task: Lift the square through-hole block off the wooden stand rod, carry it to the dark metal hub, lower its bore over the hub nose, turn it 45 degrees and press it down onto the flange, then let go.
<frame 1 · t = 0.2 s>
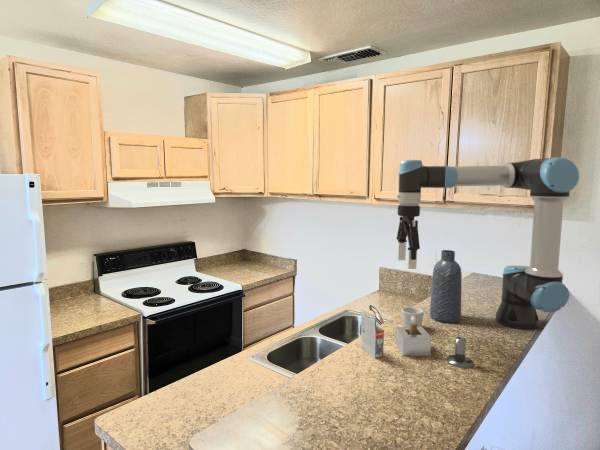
hand: (406, 264, 136), 27 cm above the countertop, fingers open, 13 cm apart
hub: (459, 365, 119), on the countertop
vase: (444, 318, 158), on the countertop
ink box: (371, 355, 125), on the countertop
stand: (412, 352, 127), on the countertop
cup: (411, 332, 144), on the countertop
square through-hole block: (412, 349, 127), point 1 cm above the countertop, touching stand
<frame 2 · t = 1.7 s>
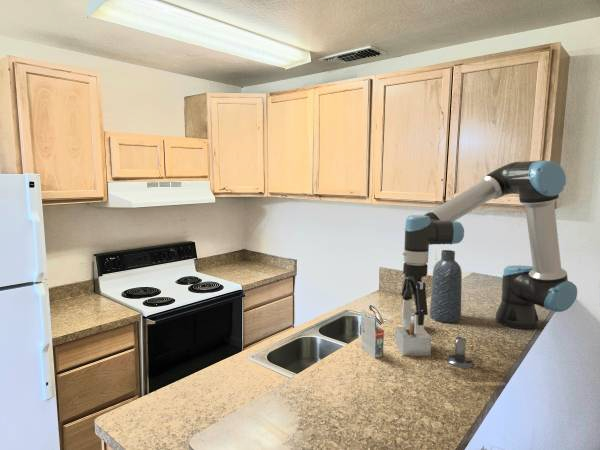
hand: (412, 325, 126), 9 cm above the countertop, fingers open, 13 cm apart
nothing on the countertop moved.
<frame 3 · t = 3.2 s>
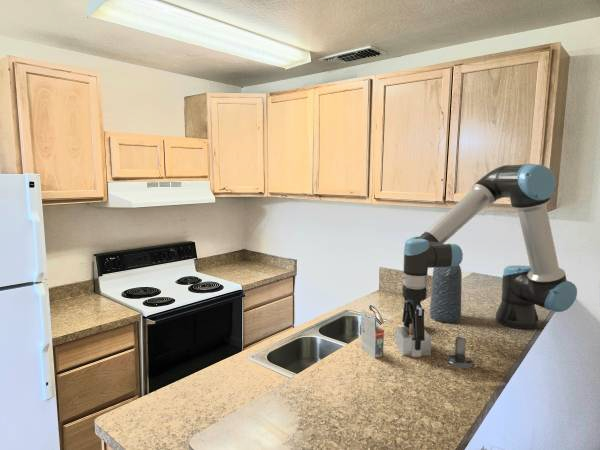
hand: (411, 351, 127), 0 cm above the countertop, fingers closed on square through-hole block, 9 cm apart
square through-hole block: (412, 349, 127), point 1 cm above the countertop, touching gripper, stand
everything else where it was.
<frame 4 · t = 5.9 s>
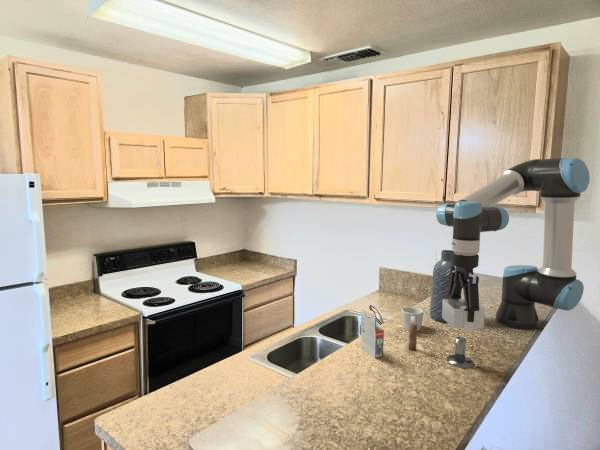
hand: (461, 324, 117), 13 cm above the countertop, fingers closed on square through-hole block, 9 cm apart
square through-hole block: (462, 322, 117), point 14 cm above the countertop, touching gripper
everything else where it was.
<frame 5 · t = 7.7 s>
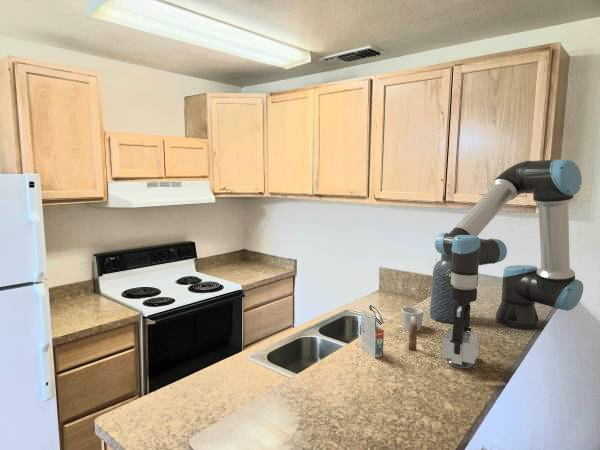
hand: (459, 356, 118), 3 cm above the countertop, fingers closed on square through-hole block, 9 cm apart
square through-hole block: (460, 354, 118), point 3 cm above the countertop, touching gripper
everything else where it was.
when the fingers open (1 cm above the countertop, at t = 8.9 s): square through-hole block stays where it is, resting on hub.
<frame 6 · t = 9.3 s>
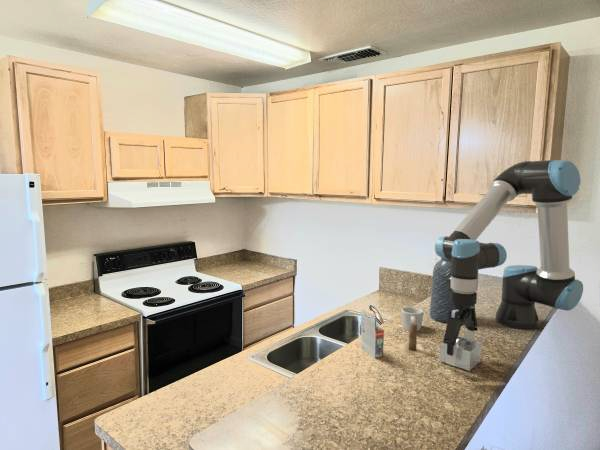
hand: (459, 356, 118), 3 cm above the countertop, fingers open, 13 cm apart
square through-hole block: (460, 360, 118), point 1 cm above the countertop, touching hub
everything else where it was.
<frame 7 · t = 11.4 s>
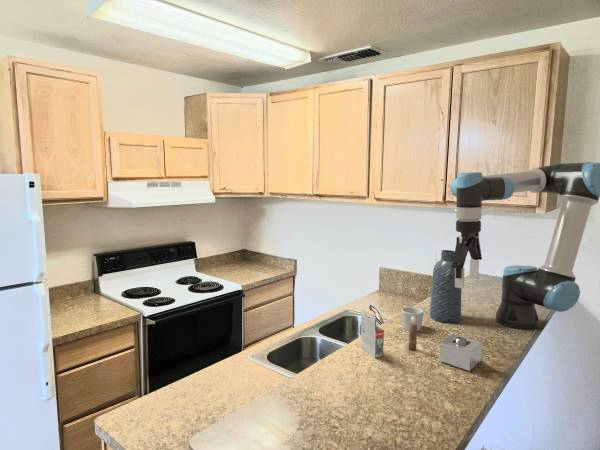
hand: (466, 282, 128), 23 cm above the countertop, fingers open, 13 cm apart
nothing on the countertop moved.
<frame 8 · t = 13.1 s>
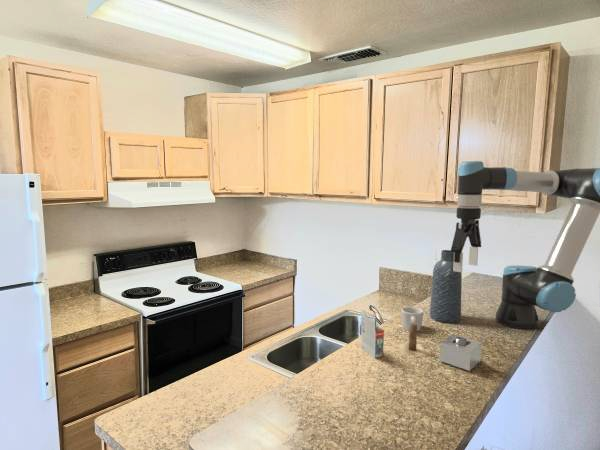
hand: (465, 268, 132), 27 cm above the countertop, fingers open, 13 cm apart
nothing on the countertop moved.
at the end: square through-hole block 0.2 cm from the hub (horizontally); square through-hole block point 1.5 cm above the countertop; the gripper is holding nothing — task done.
